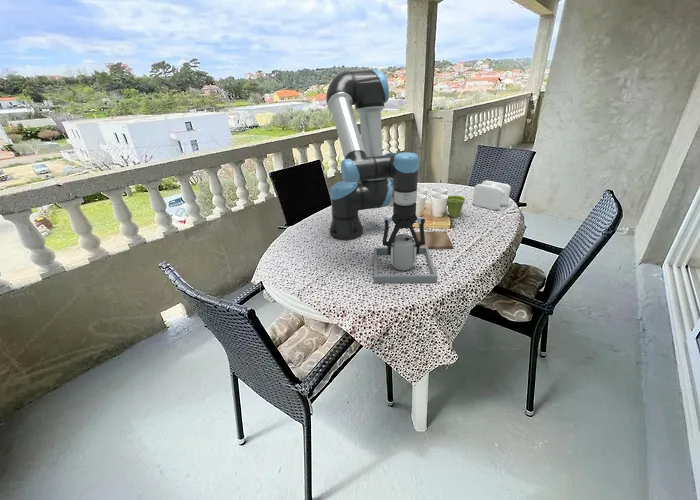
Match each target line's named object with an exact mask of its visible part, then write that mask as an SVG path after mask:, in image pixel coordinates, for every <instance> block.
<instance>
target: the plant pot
mask: <svg viewBox="0 0 700 500" xmlns="http://www.w3.org/2000/svg"><path fill="white" fill-rule="evenodd" d="M465 201H466V198H465V197H464V196H461V195H448V200H447V205H446V207H447V206H448V212H449V215H450V216H451V217H450V218H458V217H460V216H461V212H462V210H463V209H462V208H463V206H464V203H465Z"/></svg>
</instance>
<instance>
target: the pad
mask: <svg viewBox="0 0 700 500" xmlns="http://www.w3.org/2000/svg"><path fill="white" fill-rule="evenodd" d="M415 233H416V236H417V238H418V241H420V240H421V238H420V231H415ZM424 236H425V245H421V246H420V247H428V249H429V250H454V244H453V243H452V241H451V239H450V237H449V235H448V233H447V231H445V230H444V231H441V230H440V231H438V230H437V231H424Z"/></svg>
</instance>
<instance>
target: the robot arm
mask: <svg viewBox="0 0 700 500" xmlns="http://www.w3.org/2000/svg"><path fill="white" fill-rule="evenodd" d="M325 99H326V104H327V108H328V110H329V112H330V113H332V117H333V121H334V125H335V128H336V132H337V136H338V140H339V143H340V146H341V150H342V153H343V158H344V159H343V160H341V162H340V172H341V177H342V180H341V181H338V182H336V183H334V184H332V185H331V187H330V193H329V194H330V203H331V204H330V205H331V216H332V219H331V223H330V227H329V235H330V237H332V238H333V239H335V240H338V241H348V240H354V239H357V238H359V237H361V236H362V235H363V234H364V230H363V229H364V228H363V225H362V222H361V219H360V217H359V211H363V210H364V211H365V210H371V209H381V208H384V207H389V206H388V205H389V204H390V202H391V199H392V193H393V189H392V183H391V181H390V180H388V179H387V178H393V179H394V195H393V200H394V203H393V210H392V216H391V217H384V218H383V219H384V220H383V221H384V228H383V236H382V247H388V254H387V255H388V256H389V255H390V264H392V265H393V241H394V239H395V237H396V236H397V235H398V233H399V231H400V229H401V230H402V229H405V230H409V231H410V233H411V236H412V238H413V240H414V258H413V264H416V263H417V255H420V254H419V248H420V246H421V245H425V236H424V232H425V227H424V225H425V222H426V219H425V217H424V216H422V215H421V216H418V215H417V203H416V202H417V196H418V195H417V194H418V180H419V166H420V164H419V156H418V154H416V153H414V152H408V151H407V152H406V151H405V152H404V151H403V152H398V153H396V152H391V151H390V152H387V153H385V154H383V135H382V134H383V133H382V131H383V130H382V111H383V110H384V109H385V104H386V103H387V102H388V101H389V99H390V86H389V81H388V78H387V76H386V74H385V73H384V72H383V71H382V70H378V69H377V70H374V69H369V70H355V71H344V72H341V73H338V75H336V76H335V77H334V78H333V79H332V80H331V81H330V83H329V85H328V87H327V91H326V96H325ZM353 106H355V111H356V113H358V115H359V126H360V127H358V124H357V119H356V117H355V114H354V110H353ZM359 128H360V131H359ZM392 223H393V224H394V228H393V229H392V232H391V234H390V236H389V238H388V235H389V229H390V225H391V224H392ZM415 223H417V224H418V227H419V232H420V238H421V240H420V241H418V238H417V236H416V233H415V232H416V231H415V228H414V226H413V225H414V224H415Z"/></svg>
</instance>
